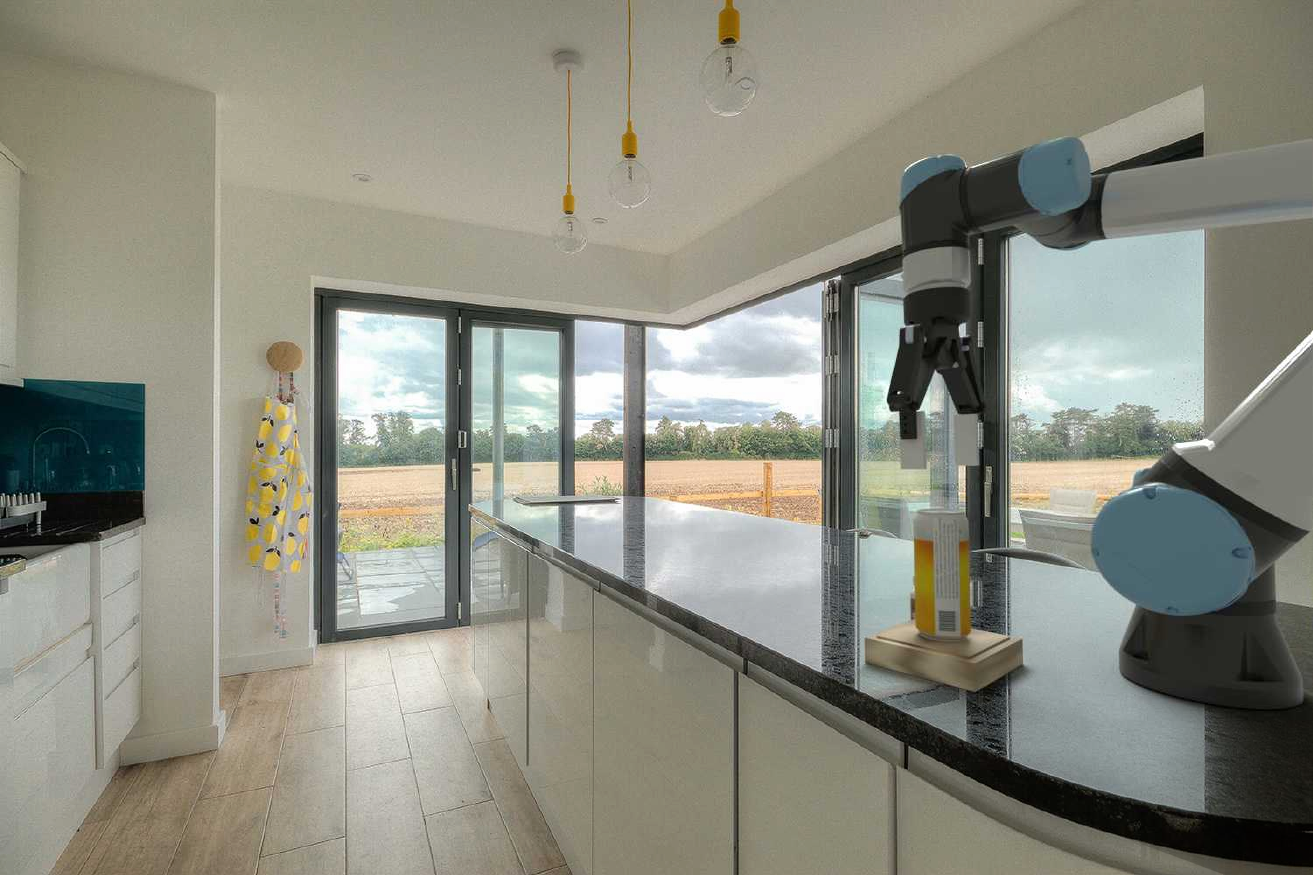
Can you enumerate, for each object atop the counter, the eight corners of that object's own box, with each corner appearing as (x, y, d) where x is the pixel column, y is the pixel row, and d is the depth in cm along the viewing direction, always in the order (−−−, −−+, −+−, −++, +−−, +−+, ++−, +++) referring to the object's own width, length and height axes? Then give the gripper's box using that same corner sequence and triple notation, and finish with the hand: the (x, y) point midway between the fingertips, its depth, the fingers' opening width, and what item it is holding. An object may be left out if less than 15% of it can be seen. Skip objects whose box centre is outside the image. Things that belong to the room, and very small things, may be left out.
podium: (1023, 663, 77) (1022, 636, 77) (975, 692, 68) (974, 661, 68) (918, 640, 87) (917, 616, 87) (865, 662, 78) (864, 635, 78)
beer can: (960, 629, 80) (957, 508, 81) (979, 643, 74) (976, 513, 74) (909, 628, 81) (907, 508, 81) (924, 643, 75) (921, 513, 75)
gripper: (952, 310, 89) (957, 464, 89) (850, 282, 73) (856, 470, 72) (1010, 300, 83) (1016, 464, 83) (914, 266, 67) (920, 471, 67)
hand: (941, 467), depth 78 cm, fingers open, 13 cm apart
